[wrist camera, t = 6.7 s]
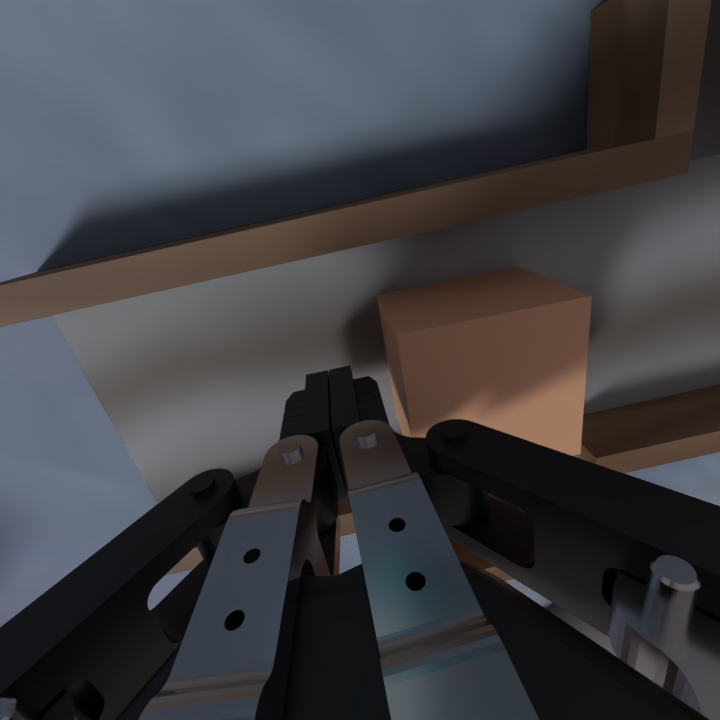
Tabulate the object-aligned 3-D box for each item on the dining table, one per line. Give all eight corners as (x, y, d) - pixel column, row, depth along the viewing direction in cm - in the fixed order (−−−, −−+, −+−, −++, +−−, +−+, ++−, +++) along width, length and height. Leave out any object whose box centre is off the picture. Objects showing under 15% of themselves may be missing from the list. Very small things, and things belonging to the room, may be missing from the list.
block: (376, 295, 13) (396, 334, 10) (518, 266, 13) (591, 295, 10) (396, 416, 15) (419, 486, 12) (519, 391, 15) (580, 454, 12)
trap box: (-56, 109, 11) (-176, 84, 8) (1116, -154, 10) (1373, -264, 8) (209, 587, 19) (191, 650, 16) (866, 441, 19) (952, 480, 16)
